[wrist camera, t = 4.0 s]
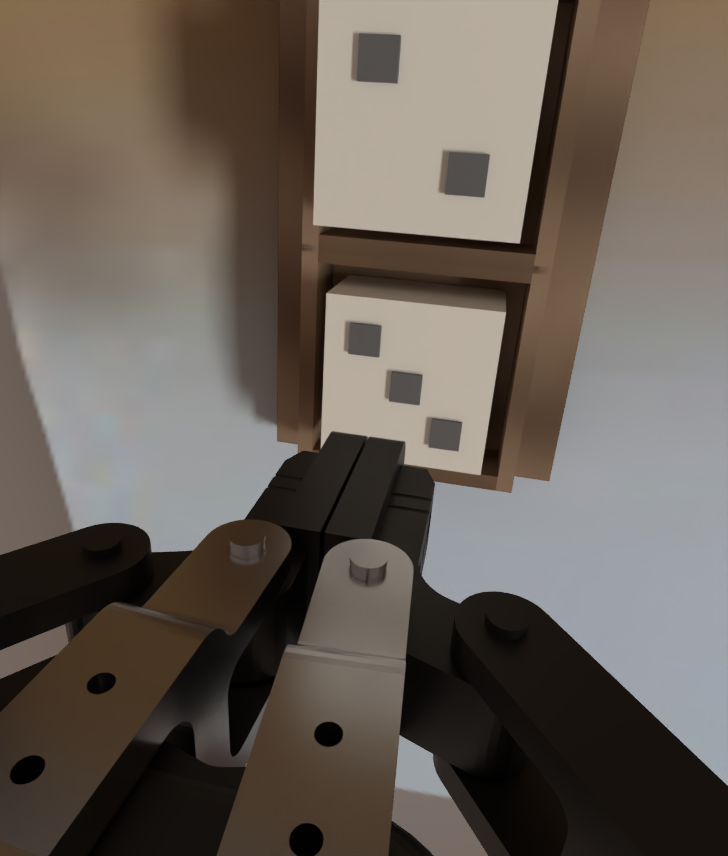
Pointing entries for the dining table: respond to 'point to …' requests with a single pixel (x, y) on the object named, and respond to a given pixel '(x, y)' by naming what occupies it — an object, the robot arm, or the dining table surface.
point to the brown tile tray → (467, 258)
